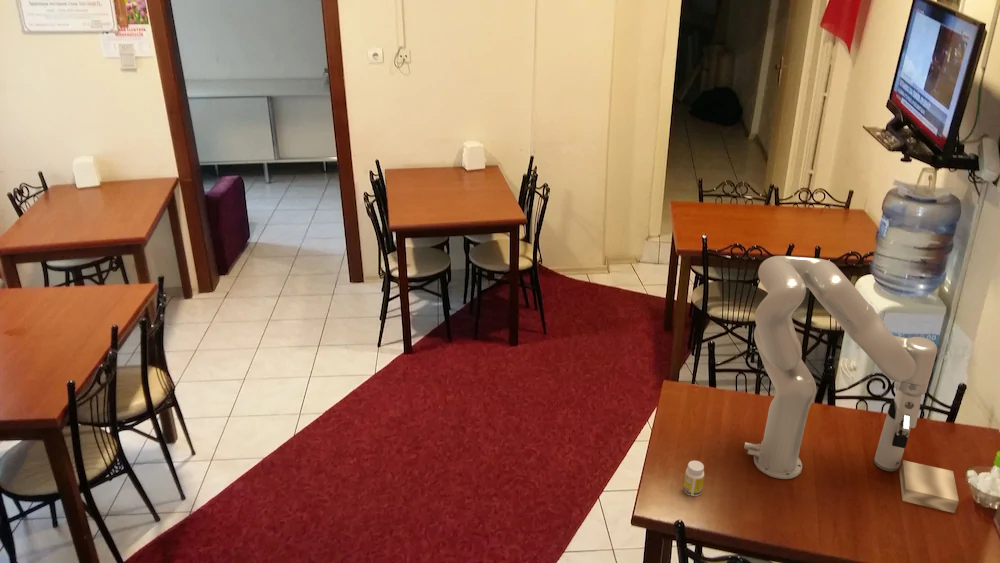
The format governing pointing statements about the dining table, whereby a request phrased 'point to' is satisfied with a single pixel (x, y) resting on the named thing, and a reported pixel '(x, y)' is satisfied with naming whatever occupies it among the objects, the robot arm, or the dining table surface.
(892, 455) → the travel mug
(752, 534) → the dining table surface
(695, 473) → the supplement bottle
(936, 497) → the plinth
